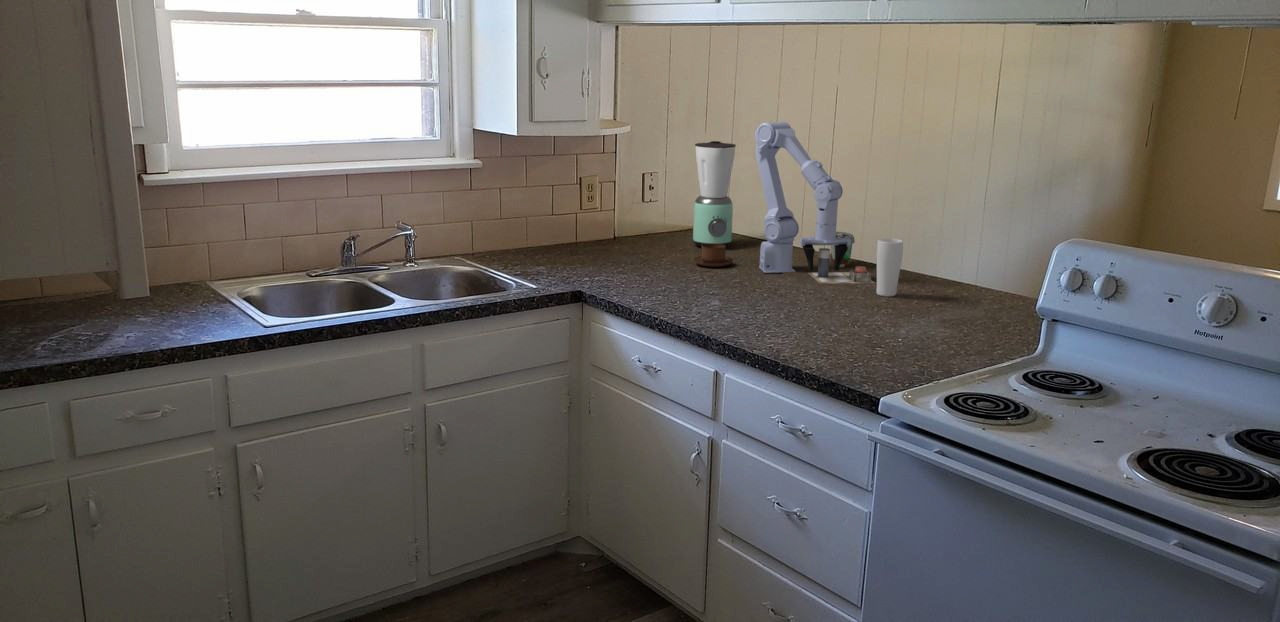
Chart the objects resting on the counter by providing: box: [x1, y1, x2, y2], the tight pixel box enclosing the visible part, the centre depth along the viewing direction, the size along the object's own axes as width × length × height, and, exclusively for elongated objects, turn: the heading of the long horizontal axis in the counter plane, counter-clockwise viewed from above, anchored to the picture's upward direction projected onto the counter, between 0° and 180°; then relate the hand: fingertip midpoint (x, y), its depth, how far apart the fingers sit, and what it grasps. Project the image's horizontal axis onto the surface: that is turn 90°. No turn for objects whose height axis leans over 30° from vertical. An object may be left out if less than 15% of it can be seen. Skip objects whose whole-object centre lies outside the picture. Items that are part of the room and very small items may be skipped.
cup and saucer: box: [693, 244, 734, 268], centre depth 302 cm, size 12×12×6 cm
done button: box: [854, 265, 867, 273], centre depth 281 cm, size 3×3×2 cm
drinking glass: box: [875, 238, 904, 298], centre depth 265 cm, size 7×7×15 cm
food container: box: [829, 231, 856, 269], centre depth 302 cm, size 12×6×10 cm, turn 179°
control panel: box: [807, 269, 876, 285], centre depth 285 cm, size 16×14×3 cm
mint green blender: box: [692, 140, 737, 249], centre depth 329 cm, size 19×13×35 cm
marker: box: [817, 247, 831, 277], centre depth 284 cm, size 3×3×8 cm
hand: (823, 269), depth 285 cm, fingers open, 7 cm apart
